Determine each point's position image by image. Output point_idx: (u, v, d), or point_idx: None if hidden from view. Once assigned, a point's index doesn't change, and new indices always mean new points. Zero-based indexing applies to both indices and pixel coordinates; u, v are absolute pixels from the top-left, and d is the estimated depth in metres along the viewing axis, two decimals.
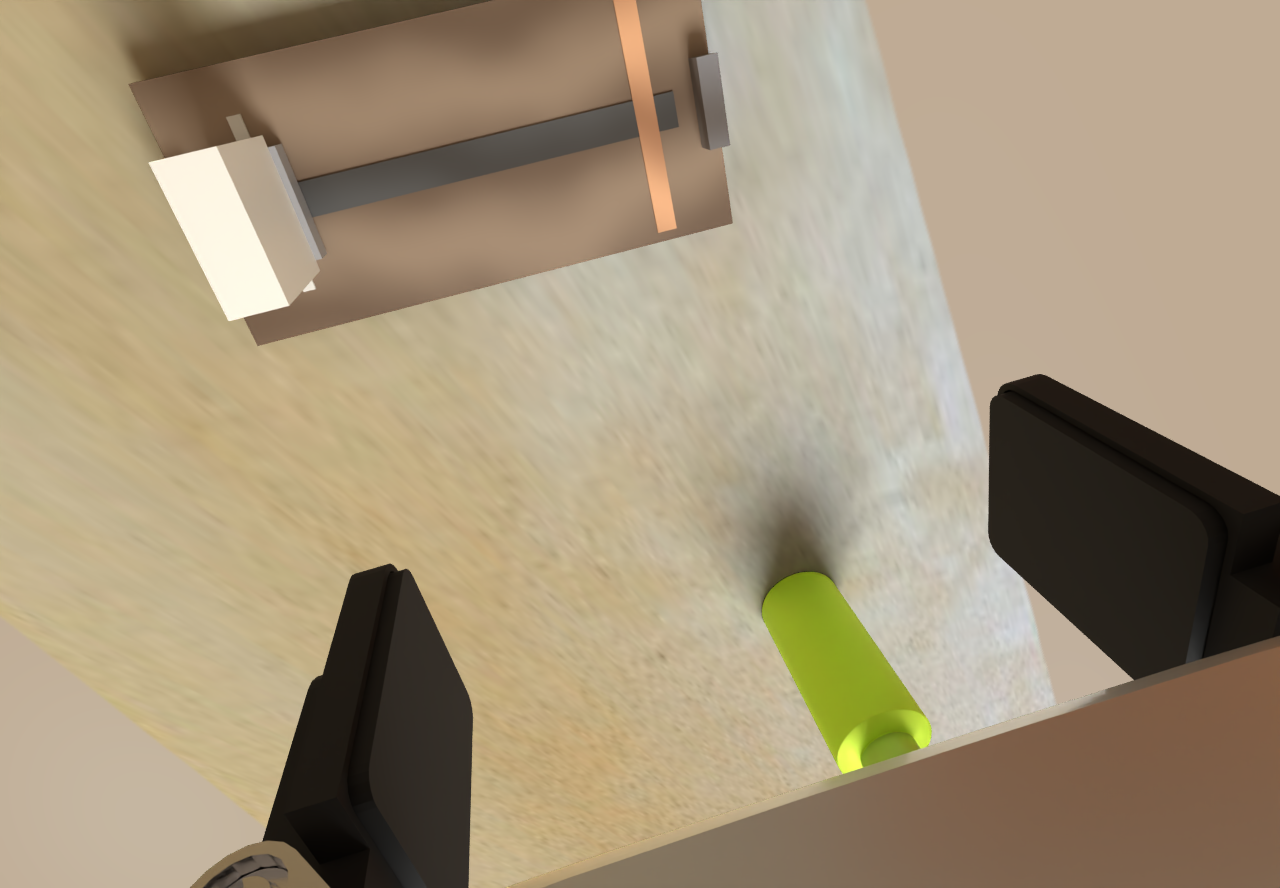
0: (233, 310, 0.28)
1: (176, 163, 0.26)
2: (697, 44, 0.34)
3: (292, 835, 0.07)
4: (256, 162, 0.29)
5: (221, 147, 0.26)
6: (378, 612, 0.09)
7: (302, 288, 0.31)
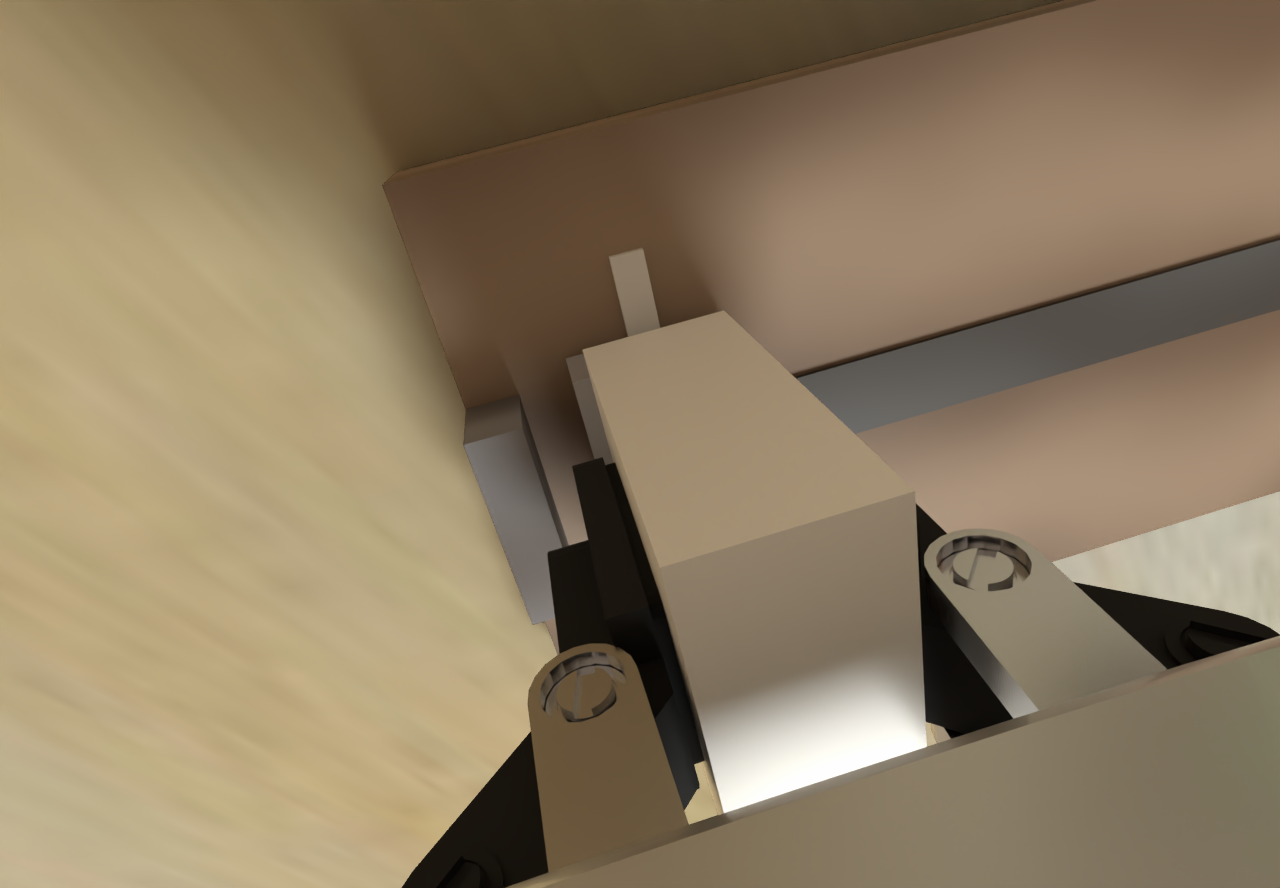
0: None
1: (757, 560, 0.07)
2: None
3: None
4: None
5: (890, 473, 0.07)
6: (612, 489, 0.10)
7: None
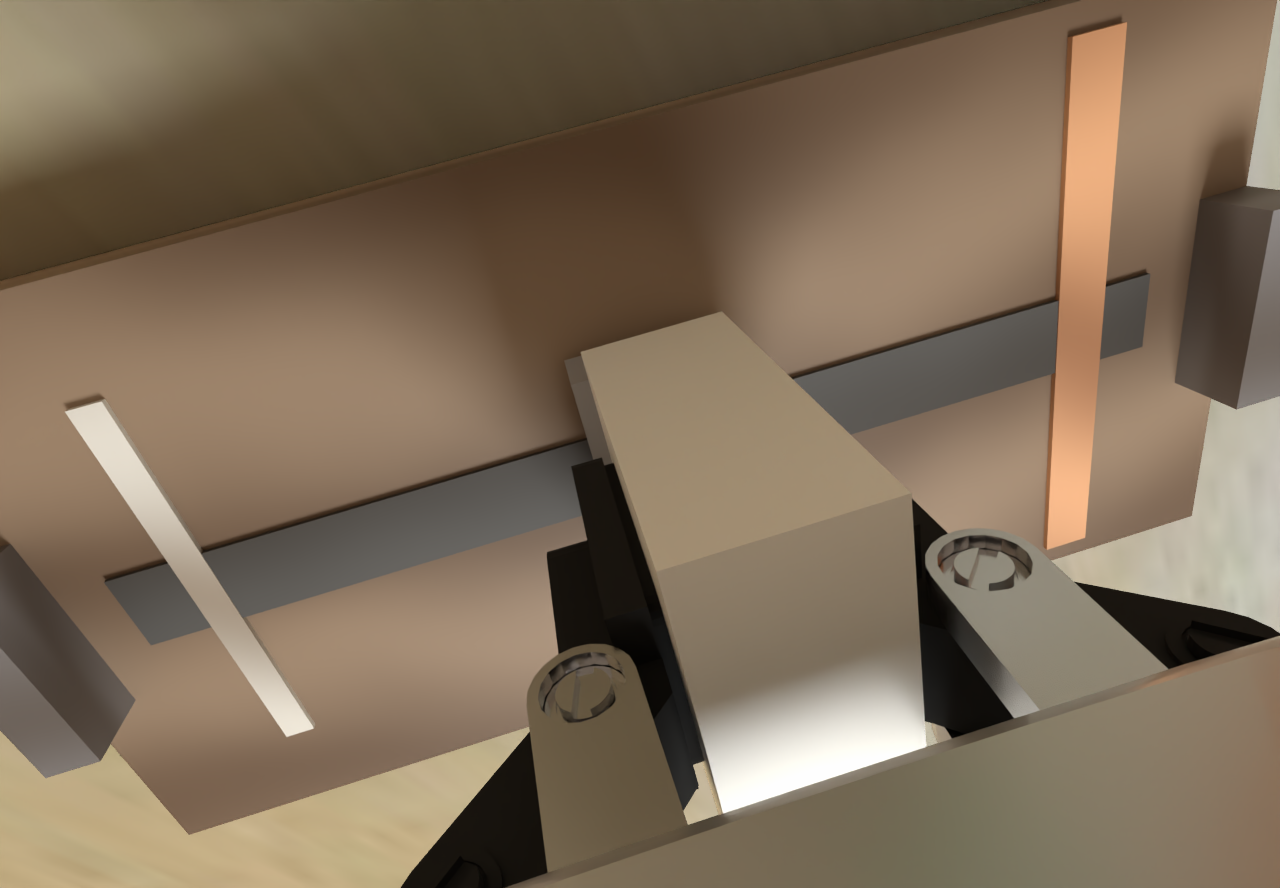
0: None
1: (753, 563, 0.07)
2: (1229, 166, 0.14)
3: None
4: None
5: (885, 475, 0.07)
6: (611, 490, 0.10)
7: None
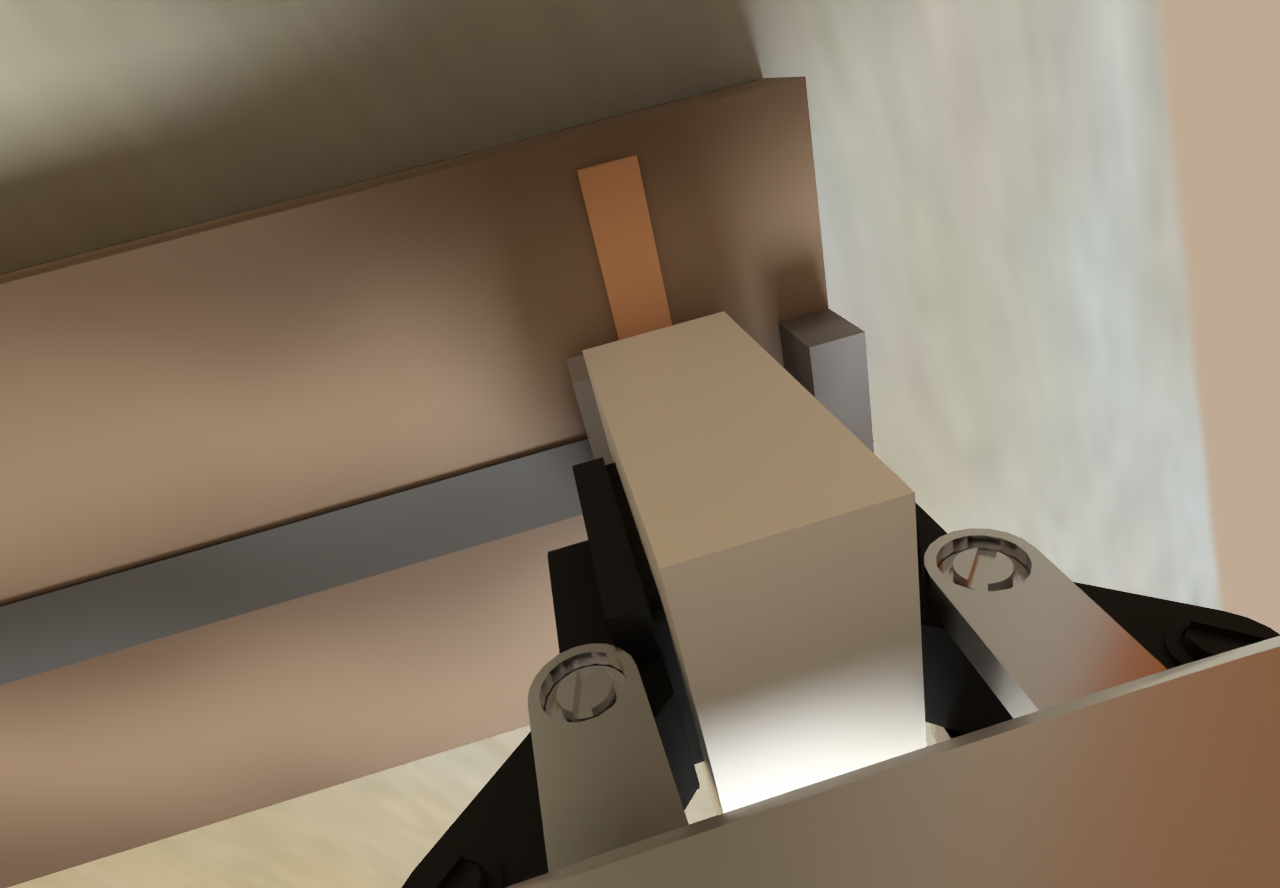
0: None
1: (757, 561, 0.07)
2: (802, 290, 0.13)
3: None
4: None
5: (889, 474, 0.07)
6: (612, 489, 0.10)
7: None
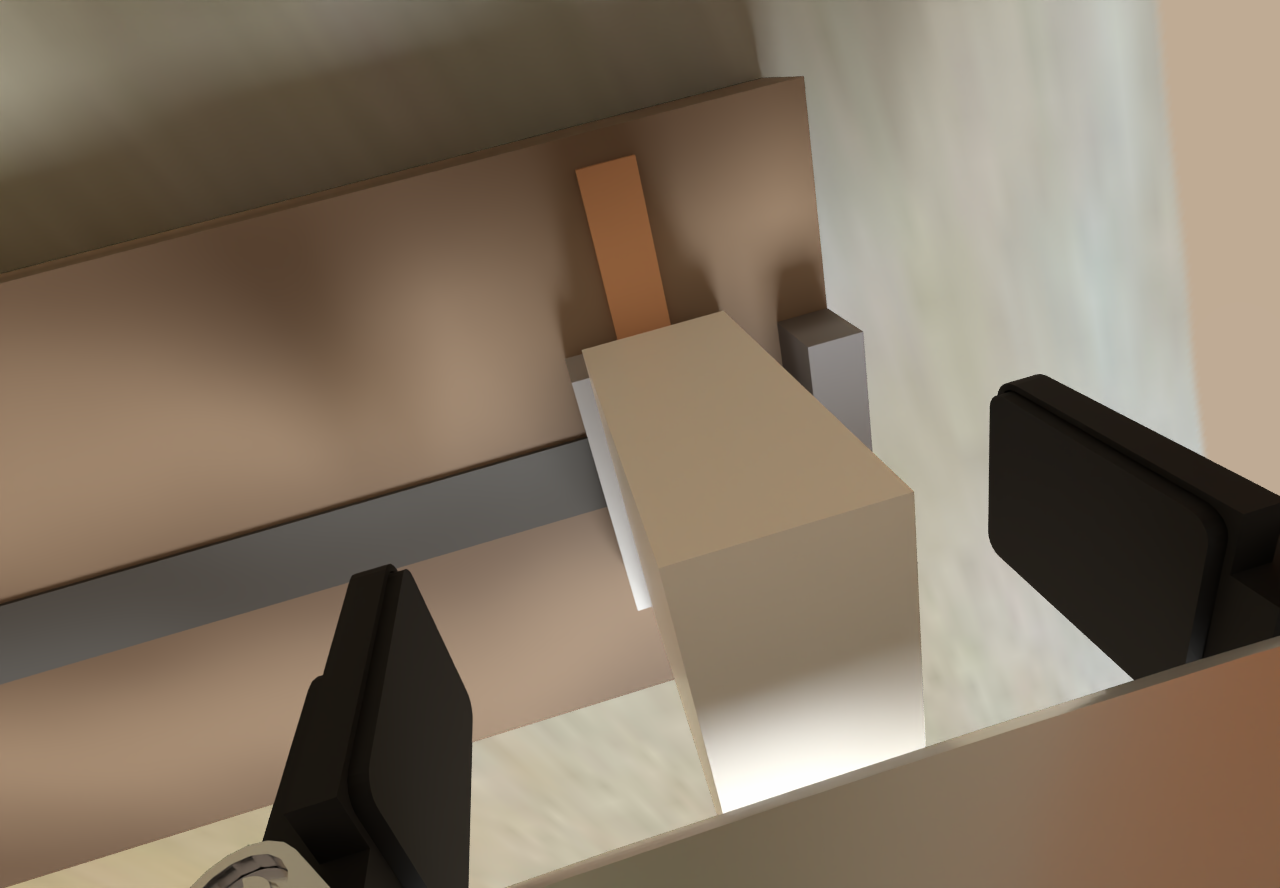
0: None
1: (756, 560, 0.07)
2: (801, 290, 0.13)
3: (292, 835, 0.07)
4: None
5: (888, 473, 0.07)
6: (378, 612, 0.09)
7: None
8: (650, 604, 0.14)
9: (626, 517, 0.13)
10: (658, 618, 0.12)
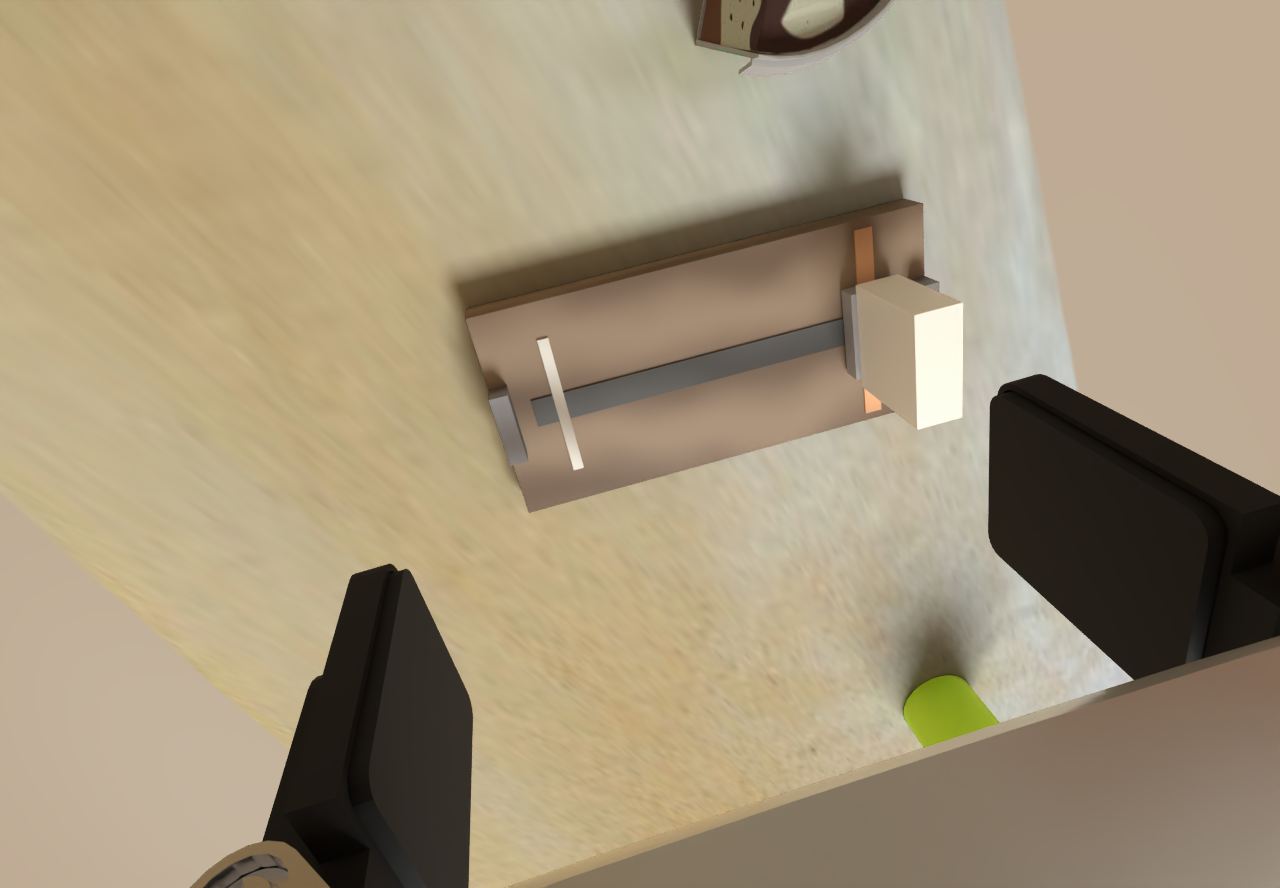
0: (923, 421, 0.36)
1: (932, 315, 0.33)
2: (916, 269, 0.40)
3: (292, 835, 0.07)
4: None
5: (956, 301, 0.34)
6: (378, 612, 0.09)
7: None
8: (860, 378, 0.41)
9: (858, 343, 0.40)
10: (875, 369, 0.39)
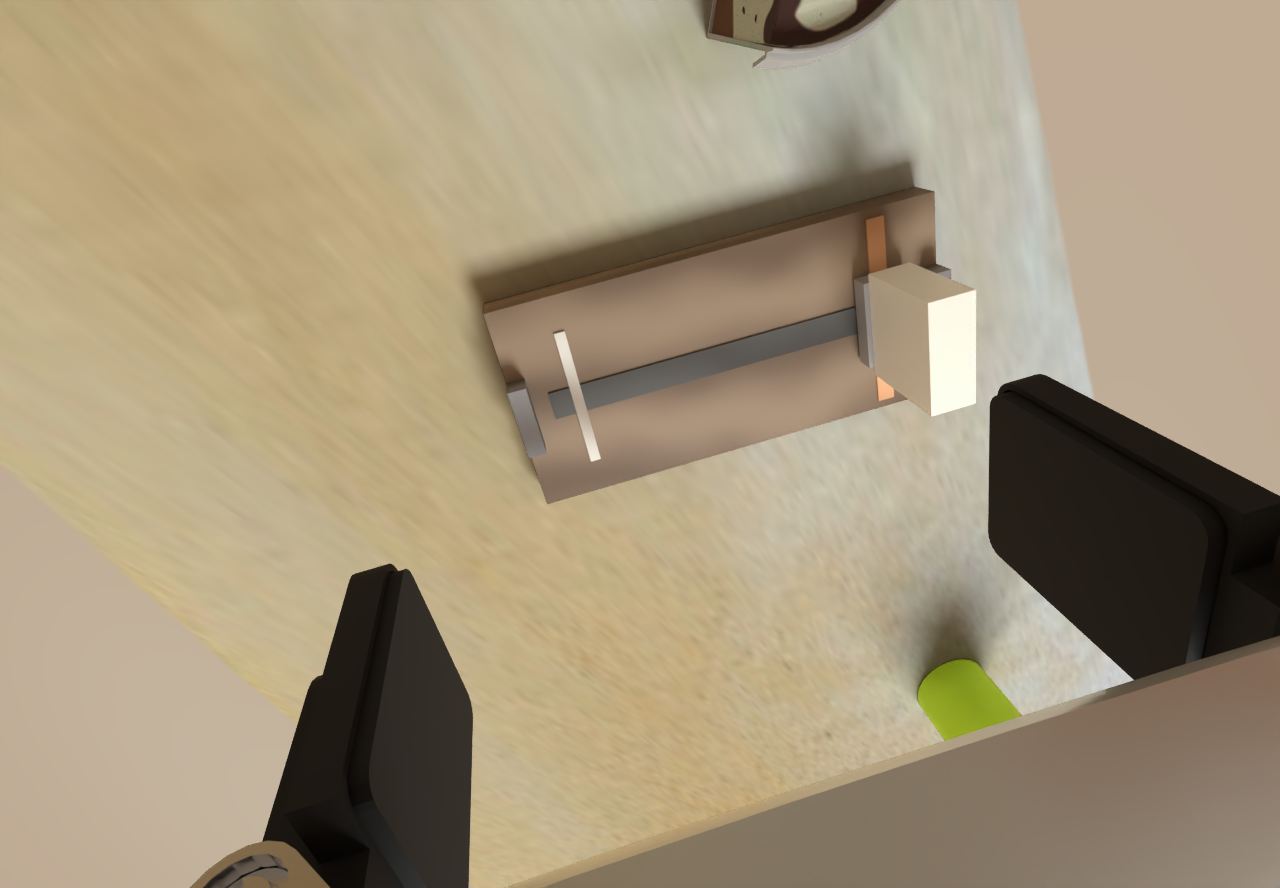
0: (937, 408, 0.36)
1: (945, 303, 0.34)
2: (928, 257, 0.41)
3: (292, 835, 0.07)
4: None
5: (969, 288, 0.34)
6: (378, 612, 0.09)
7: None
8: (873, 366, 0.41)
9: (871, 331, 0.40)
10: (888, 357, 0.39)
